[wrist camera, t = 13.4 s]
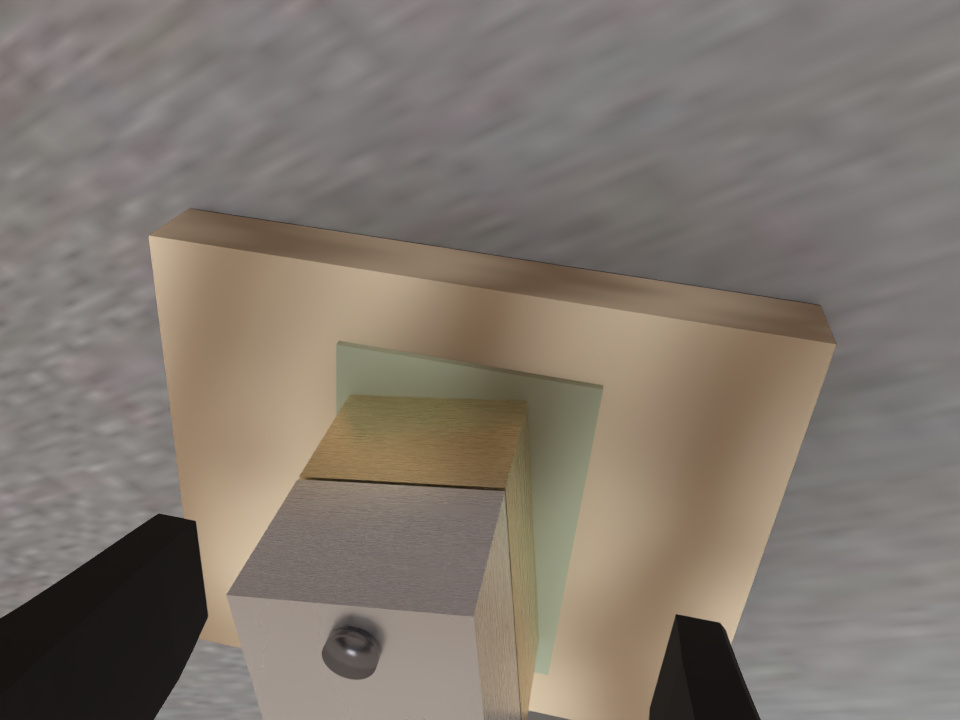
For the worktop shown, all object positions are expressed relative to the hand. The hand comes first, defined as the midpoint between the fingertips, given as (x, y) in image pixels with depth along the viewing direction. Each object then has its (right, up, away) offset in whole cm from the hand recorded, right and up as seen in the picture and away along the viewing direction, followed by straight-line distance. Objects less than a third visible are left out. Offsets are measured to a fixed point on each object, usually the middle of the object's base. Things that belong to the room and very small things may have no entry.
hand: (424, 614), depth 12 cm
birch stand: (+1, 0, +12) cm, 12 cm away
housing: (0, -1, +10) cm, 10 cm away
